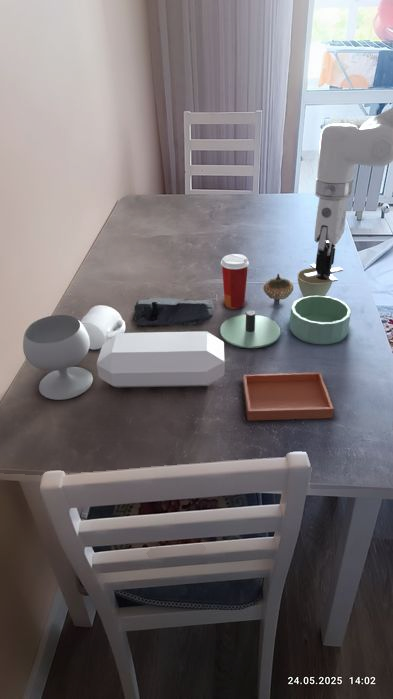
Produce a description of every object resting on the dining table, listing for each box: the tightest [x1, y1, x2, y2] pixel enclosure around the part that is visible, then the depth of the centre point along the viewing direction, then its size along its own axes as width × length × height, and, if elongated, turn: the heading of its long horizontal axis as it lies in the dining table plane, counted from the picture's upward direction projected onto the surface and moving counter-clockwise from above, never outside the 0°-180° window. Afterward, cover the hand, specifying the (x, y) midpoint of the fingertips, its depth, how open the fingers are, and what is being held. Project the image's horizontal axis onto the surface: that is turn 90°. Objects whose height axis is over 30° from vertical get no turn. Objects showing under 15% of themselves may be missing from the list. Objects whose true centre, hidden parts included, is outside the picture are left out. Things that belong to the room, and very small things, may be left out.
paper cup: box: [220, 253, 250, 310], centre depth 135 cm, size 8×8×14 cm
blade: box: [304, 244, 344, 283], centre depth 113 cm, size 10×10×8 cm
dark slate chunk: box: [134, 297, 215, 327], centre depth 134 cm, size 15×22×5 cm
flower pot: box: [296, 267, 334, 297], centre depth 138 cm, size 10×10×7 cm
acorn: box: [262, 273, 294, 307], centre depth 134 cm, size 8×8×10 cm
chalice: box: [22, 314, 94, 401], centre depth 107 cm, size 14×14×15 cm
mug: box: [80, 304, 126, 350], centre depth 123 cm, size 12×9×8 cm
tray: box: [242, 372, 335, 421], centre depth 103 cm, size 17×12×2 cm
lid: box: [219, 310, 282, 349], centre depth 124 cm, size 16×16×6 cm
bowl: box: [289, 295, 352, 345], centre depth 124 cm, size 15×15×6 cm
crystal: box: [96, 330, 226, 388], centre depth 109 cm, size 14×10×28 cm
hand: (324, 266), depth 113 cm, fingers closed on blade, 3 cm apart
